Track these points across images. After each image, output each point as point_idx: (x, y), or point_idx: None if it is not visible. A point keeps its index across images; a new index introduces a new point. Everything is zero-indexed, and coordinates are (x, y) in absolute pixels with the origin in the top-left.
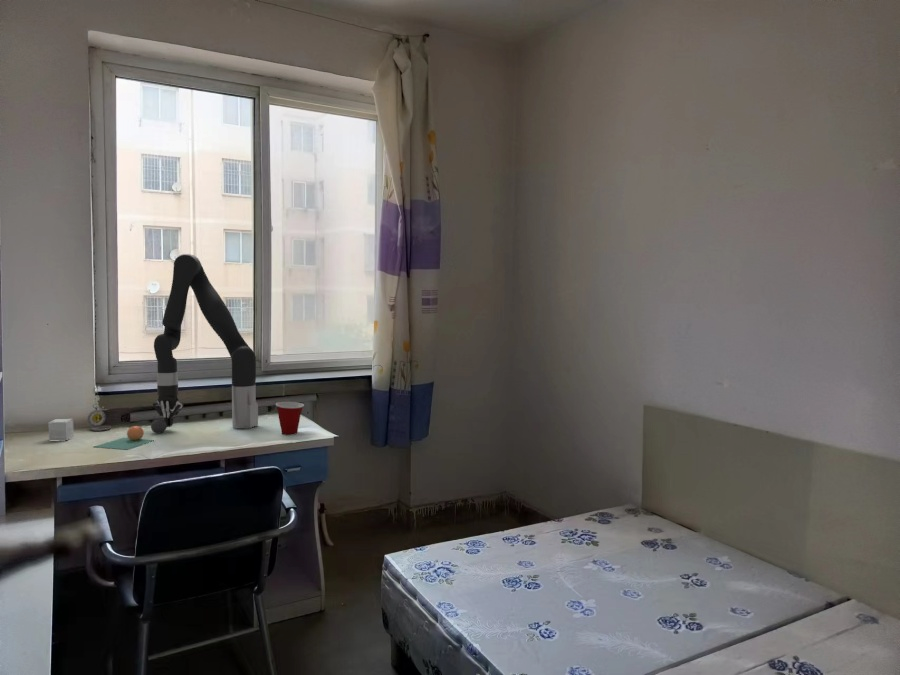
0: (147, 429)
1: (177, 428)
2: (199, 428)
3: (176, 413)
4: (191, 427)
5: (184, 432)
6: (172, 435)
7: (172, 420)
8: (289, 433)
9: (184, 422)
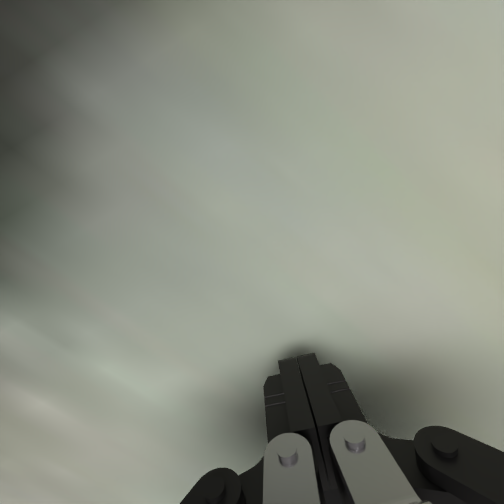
0: (109, 414)
1: (301, 271)
2: (498, 167)
3: (477, 470)
4: (390, 174)
5: (481, 346)
6: None
7: (355, 402)
8: None
9: (110, 17)
